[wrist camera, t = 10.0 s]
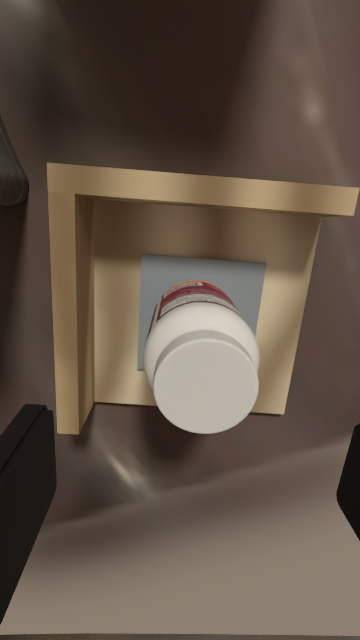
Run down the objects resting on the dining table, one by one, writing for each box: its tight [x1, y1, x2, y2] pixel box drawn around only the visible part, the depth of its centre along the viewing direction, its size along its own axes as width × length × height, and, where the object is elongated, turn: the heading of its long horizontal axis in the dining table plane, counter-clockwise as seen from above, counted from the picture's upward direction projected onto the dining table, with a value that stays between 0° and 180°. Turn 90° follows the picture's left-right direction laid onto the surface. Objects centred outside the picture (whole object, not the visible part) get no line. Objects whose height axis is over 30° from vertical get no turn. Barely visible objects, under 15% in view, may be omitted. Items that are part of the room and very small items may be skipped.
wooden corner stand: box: [47, 163, 359, 435], centre depth 23 cm, size 18×18×5 cm
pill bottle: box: [143, 280, 260, 434], centre depth 19 cm, size 6×6×11 cm
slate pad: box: [137, 254, 266, 369], centre depth 25 cm, size 9×9×1 cm
